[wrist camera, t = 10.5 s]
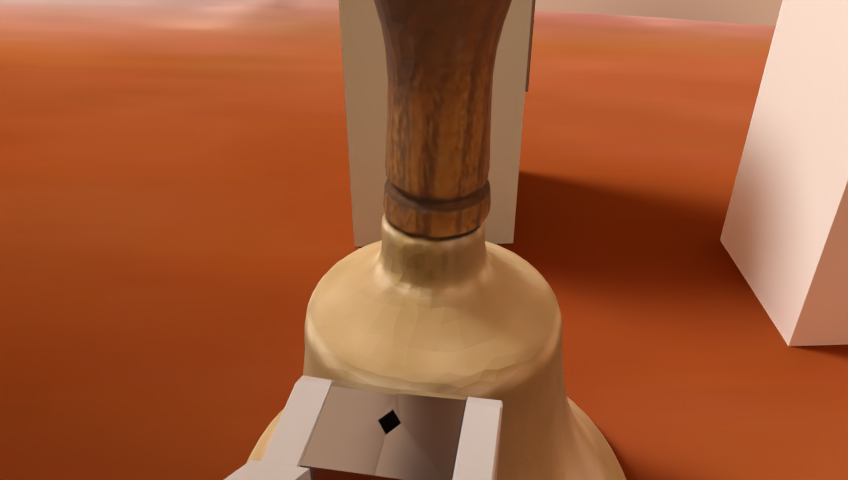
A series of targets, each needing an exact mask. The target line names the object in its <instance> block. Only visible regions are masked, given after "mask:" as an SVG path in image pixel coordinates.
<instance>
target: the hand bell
mask: <svg viewBox="0 0 848 480" xmlns="http://www.w3.org/2000/svg"><path fill="white" fill-rule="evenodd" d="M511 2H512V0H374V3H375V6H376V10H377V13H378V17H379V20H380V23H381V28H382V33H383V38H384V44H385V52H386V65H387V77H388V90H387V132H386V154H385V169H386V176H387V180H386V182H385V185H384V195H383V207H384V213H385V214H384V216H383V218H382V227H381V234H382V240H381V241H378V242H375V243H372V244H369V245H366V246H364V247H362V248H360V249H358V250H356V251H355V252H353V253H351V254H350V255H348V256H346V257H345V258H343V259H342V260H340V261H339V262H337V263H336V264H335V265H334V266H333V267H332V268H331V269H330V270H329V271H328V272H327V273H326V274H325V275H324V276H323V278H322V279H321V280H320V281H319V283H318V285H317V287H316V288H315V290H314V292H313V294H312V296H311V298H310V301H309V304H308V307H307V314H306V320H305V357H304V371H303V376H310V377H316V378H323V379H330V380H341V381H347V382H354V383H360V384H367V385H374V386H380V387H387V388H394V389H400V390H401V389H406V390H415V391H423V392H432V393H441V394H450V395H458V396H467V398H468V397H475V398H484V399H492V400H501V401H502V402H503V410H502V422H501V434H500V446H499V458H498V470H497V480H626V477H625V475H624V472H623V470H622V468H621V466H620V464H619V462H618V460H617V458H616V456H615V454H614V452H613V450H612V449H611V447H610V445H609V444H608V442H607V441H606V439H605V438H604V436H603V435H602V433H601V432H600V431H599V429H598V428H597V427H596V426H595V424H594V423H593V422H592V420H591V419H590V418H589V417H588V416H587V415H586V414H585V413H584V412H583V411H582V410H581V409H580V408H579V407H578V406H577V405H576V404H575V403H574V402H573V401H572V400H570V399H569V398H568V397H567V394H566V389H565V383H564V373H563V359H562V321H561V312H560V309H559V305H558V302H557V299H556V296H555V294H554V292H553V291H552V289H551V287H550V285H549V284H548V283H547V281H546V280H545V279H544V277H543V276H542V275H541V274H540V273H539V272H538V271H537V270H536V269H535V268H534V267H533V266H532V265H531V264H530V263H528V262H527V261H526V260H524V259H523V258H521V257H520V256H518V255H517V254H515V253H513V252H511V251H509V250H507V249H505V248H503V247H501V246H498V245H496V244H493V243H490V242H487V241H485V219H486V218H487V216H488V214H489V211H490V206H491V191H490V183H489V180H488V173H489V169H490V134H491V104H492V85H493V72H494V65H495V58H496V52H497V47H498V43H499V40H500V36H501V32H502V28H503V25H504V21H505V18H506V16H507V13H508V10H509V7H510V4H511ZM283 410H284V409H283ZM283 410H282V411H281V412H280V413H279V414H278V415H277V416H276V417H275V419H274V420H273V421H272V422H271V423H270V425H269V426H268V427H267V429H266V430H265V432H264V433H263V434H262V436H261V437H260V439H259V440H258V442H257V444H256V446H255V447H254V449H253V451H252V453H251V454H250V457H249V459H248V461H247V463H248V462H249V461H250V460H256V461H261V460H262V458H263V456H264V453H265V451H266V449H267V447H268V444H269V442H270V440H271V437H272V435H273V433H274V431H275V428H276V426H277V424H278V422H279V419H280V417H281V415H282V413H283Z"/></svg>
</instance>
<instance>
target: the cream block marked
mask: <svg viewBox="0 0 848 480" xmlns="http://www.w3.org/2000/svg"><path fill="white" fill-rule="evenodd" d="M720 241H721V242H722V244H723V245H724V247H725V249H726V250H727V252H728V253H729V255H730V256H731V258H732V259H733V261H734V263H735V264H736V266H737V267H738V269H739V270H740V272H741V273H742V275H743V276H744V278H745V280H746V281H747V283H748V284H749V286H750V287H751V289H752V290H753V292H754V294H755V295H756V297H757V298H758V300H759V301H760V303H761V304H762V306H763V307H764V309H765V311H766V312H767V314H768V315H769V317H770V318H771V320H772V321H773V323H774V325H775V326H776V328H777V329H778V331H779V332H780V334H781V335H782V337H783V338H784V340H785V342H786V343H787V345H788V346H815V345H848V0H783V1H782V5H781V9H780V13H779V17H778V20H777V24H776V28H775V32H774V36H773V39H772V43H771V47H770V51H769V55H768V58H767V62H766V66H765V70H764V74H763V78H762V81H761V85H760V89H759V93H758V97H757V100H756V104H755V108H754V112H753V116H752V119H751V123H750V127H749V131H748V135H747V138H746V142H745V146H744V150H743V154H742V158H741V161H740V165H739V169H738V173H737V177H736V180H735V184H734V188H733V192H732V196H731V199H730V203H729V207H728V211H727V215H726V219H725V222H724V226H723V230H722V234H721V238H720Z"/></svg>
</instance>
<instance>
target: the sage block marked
mask: <svg viewBox="0 0 848 480" xmlns="http://www.w3.org/2000/svg"><path fill="white" fill-rule="evenodd" d="M339 10H340V26H341V42H342V57H343V73H344V88H345V104H346V120H347V135H348V151H349V167H350V182H351V198H352V213H353V229H354V245H355V247H364V246H366V245H369V244H372V243H375V242H378V241H381V240H382V234H381V227H382V218H383V216H384V214H385V213H384V207H383V195H384V185H385V182H386V180H387V176H386V169H385V154H386V132H387V90H388V77H387V65H386V52H385V44H384V38H383V33H382V28H381V23H380V20H379V17H378V13H377V10H376V6H375V3H374V0H339ZM534 11H535V0H512V2H511V4H510V7H509V10H508V13H507V16H506V18H505V21H504V25H503V28H502V32H501V36H500V40H499V43H498V47H497V52H496V58H495V65H494V72H493V85H492V104H491V134H490V169H489V173H488V180H489V183H490V191H491V206H490V211H489V214H488V216H487V218H486V219H485V241H487V242H490V243H493V244H506V243H513V239H514V226H515V214H516V201H517V188H518V176H519V163H520V150H521V137H522V125H523V112H524V99H525V92H528V85H529V72H530V60H531V48H532V35H533V23H534Z"/></svg>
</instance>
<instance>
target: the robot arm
mask: <svg viewBox="0 0 848 480" xmlns="http://www.w3.org/2000/svg"><path fill="white" fill-rule="evenodd" d="M502 410H503V402H502V401H501V400H492V399H484V398H475V397H468V398H467V396H458V395H450V394H441V393H432V392H423V391H415V390H406V389H401V390H400V389H394V388H387V387H380V386H374V385H367V384H360V383H354V382H347V381H341V380H330V379H323V378H316V377H310V376H302V377H301V378H300V379H299V380H298V381H297V382H296V383H295V386H294V388H293V390H292V392H291V395H290V397H289V399H288V401H287V404H286V406H285V408H284V410H283V413H282V415H281V417H280V419H279V422H278V424H277V426H276V428H275V431H274V433H273V435H272V437H271V440H270V442H269V444H268V447H267V449H266V451H265V453H264V456H263V458H262V460H261V461H256V460H250V461H249V462H248V463H246V464H245V465H243V466H242V467H241V468H239V469H238V470H236V471H235V472H234V473H232V474H231V475H229V476H228V477H226V478H225V479H224V480H497V470H498V458H499V446H500V434H501V422H502Z"/></svg>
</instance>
